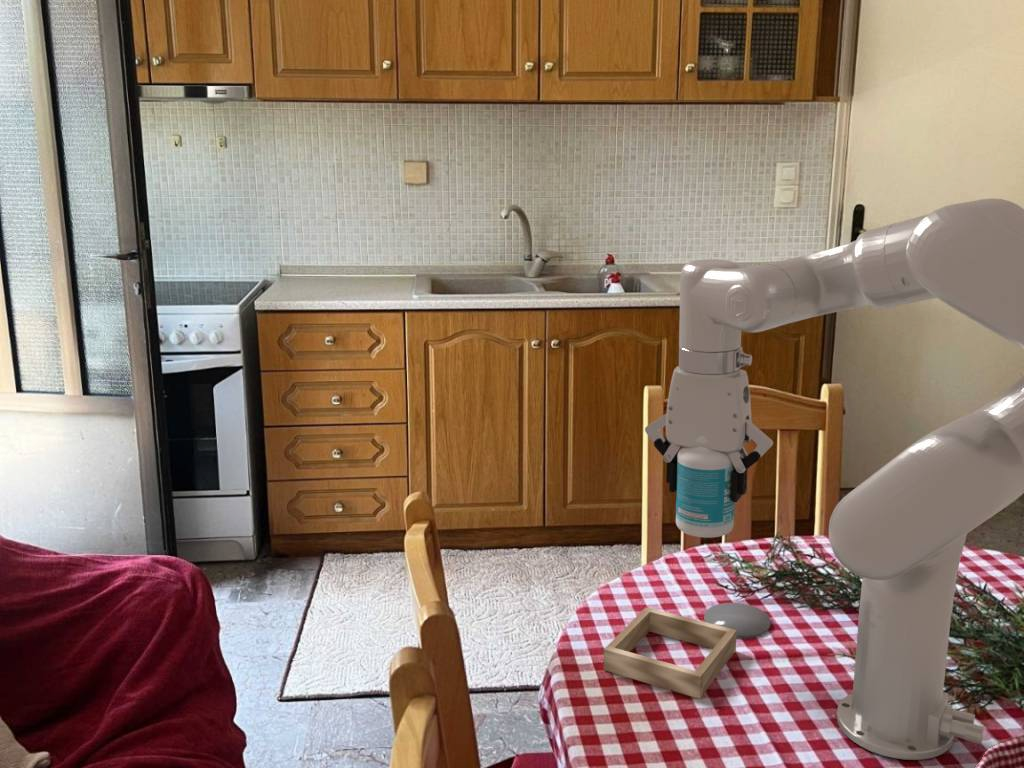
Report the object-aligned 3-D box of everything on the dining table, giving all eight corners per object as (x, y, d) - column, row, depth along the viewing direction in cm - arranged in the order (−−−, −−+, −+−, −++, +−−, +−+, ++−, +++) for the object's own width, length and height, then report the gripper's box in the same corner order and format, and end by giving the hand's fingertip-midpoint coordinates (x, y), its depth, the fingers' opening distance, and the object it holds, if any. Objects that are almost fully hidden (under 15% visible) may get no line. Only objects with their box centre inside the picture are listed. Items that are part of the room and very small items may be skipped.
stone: (778, 616, 141) (778, 612, 141) (757, 644, 134) (758, 640, 134) (717, 601, 146) (717, 597, 146) (694, 627, 138) (694, 623, 138)
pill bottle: (735, 541, 126) (739, 439, 122) (675, 539, 127) (678, 437, 123) (731, 518, 133) (735, 421, 129) (675, 516, 134) (677, 420, 130)
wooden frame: (735, 650, 132) (736, 630, 131) (699, 698, 122) (700, 676, 121) (645, 626, 139) (646, 607, 138) (603, 670, 128) (603, 649, 127)
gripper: (787, 360, 123) (780, 494, 128) (653, 348, 131) (652, 474, 136) (771, 374, 117) (765, 514, 121) (632, 360, 125) (631, 493, 129)
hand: (705, 492), depth 129 cm, fingers closed on pill bottle, 7 cm apart
